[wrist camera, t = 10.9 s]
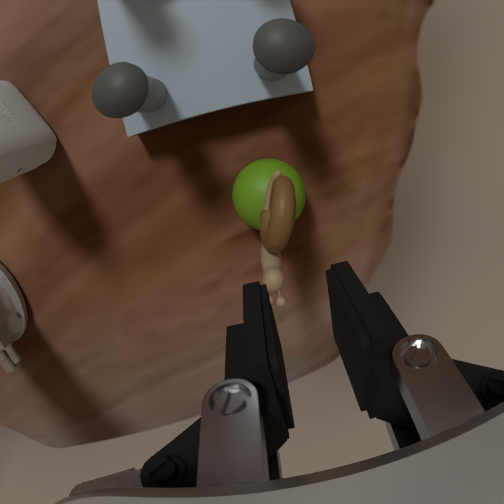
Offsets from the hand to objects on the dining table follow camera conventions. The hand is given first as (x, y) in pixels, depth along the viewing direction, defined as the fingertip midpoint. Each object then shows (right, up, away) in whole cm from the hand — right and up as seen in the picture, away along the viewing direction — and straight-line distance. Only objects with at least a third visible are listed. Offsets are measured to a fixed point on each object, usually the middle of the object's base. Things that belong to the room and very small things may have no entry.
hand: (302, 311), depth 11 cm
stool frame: (-6, +21, +9) cm, 23 cm away
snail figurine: (-1, +7, +16) cm, 17 cm away
